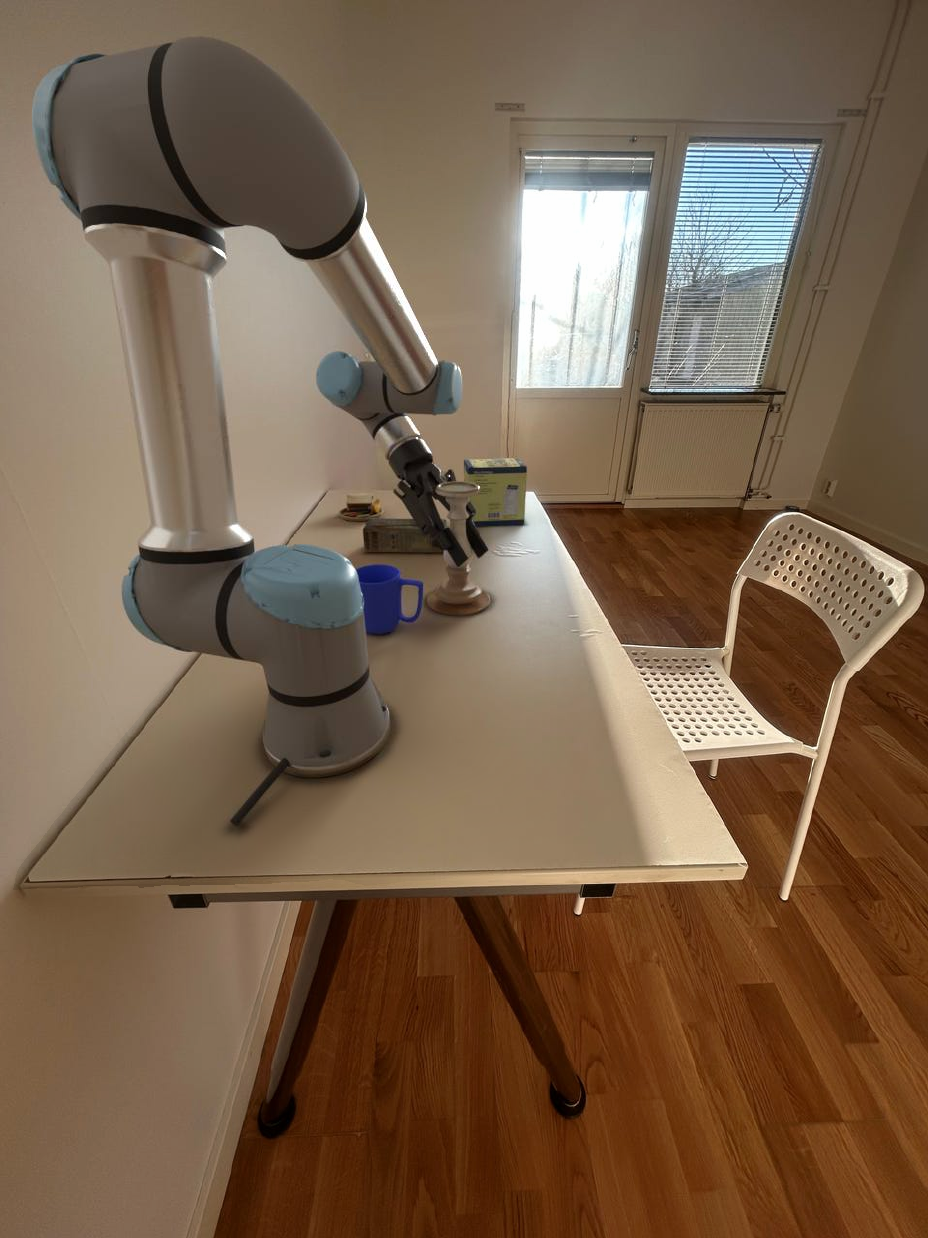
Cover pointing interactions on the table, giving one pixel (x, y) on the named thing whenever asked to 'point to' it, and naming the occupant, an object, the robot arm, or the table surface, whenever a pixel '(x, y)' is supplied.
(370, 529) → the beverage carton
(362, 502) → the toy sandwich meal
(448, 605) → the coaster
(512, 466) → the protein box
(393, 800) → the table surface
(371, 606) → the mug
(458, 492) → the candle holder
